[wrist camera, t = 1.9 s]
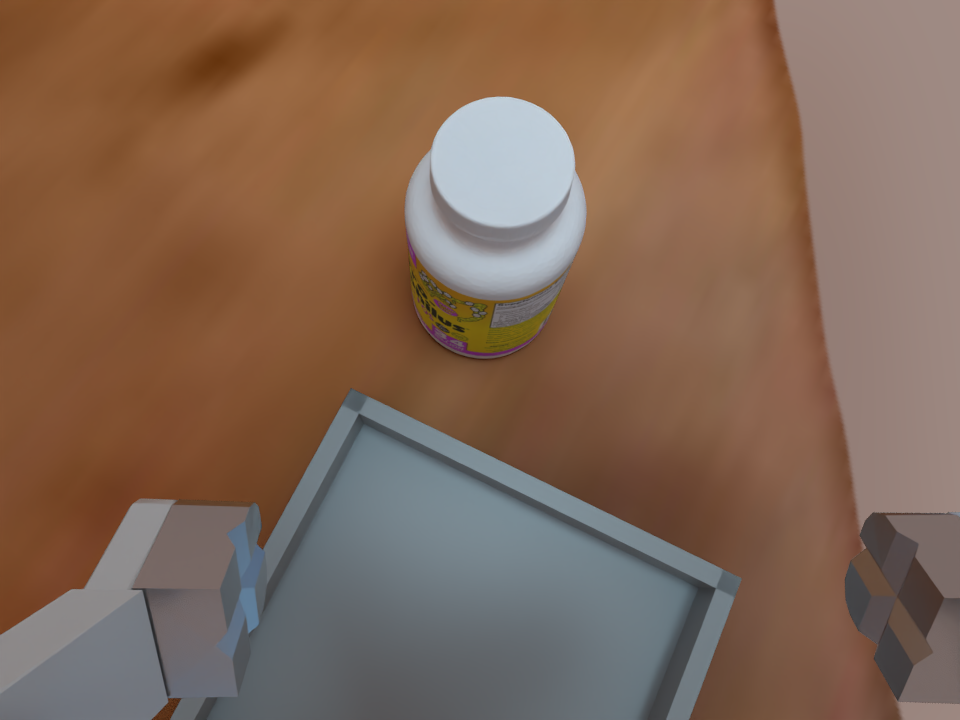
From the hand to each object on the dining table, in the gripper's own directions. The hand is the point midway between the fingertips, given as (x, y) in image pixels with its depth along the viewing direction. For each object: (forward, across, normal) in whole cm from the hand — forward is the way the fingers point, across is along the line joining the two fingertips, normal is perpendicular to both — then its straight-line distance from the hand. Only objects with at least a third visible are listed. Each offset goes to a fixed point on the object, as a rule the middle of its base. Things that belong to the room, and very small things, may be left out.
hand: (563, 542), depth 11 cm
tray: (+15, +1, +20) cm, 25 cm away
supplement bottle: (+26, 0, +9) cm, 28 cm away
